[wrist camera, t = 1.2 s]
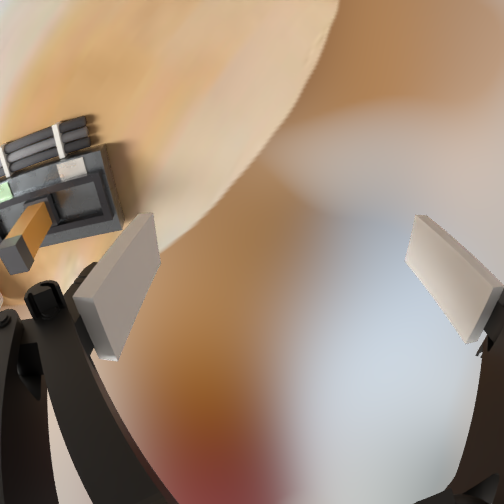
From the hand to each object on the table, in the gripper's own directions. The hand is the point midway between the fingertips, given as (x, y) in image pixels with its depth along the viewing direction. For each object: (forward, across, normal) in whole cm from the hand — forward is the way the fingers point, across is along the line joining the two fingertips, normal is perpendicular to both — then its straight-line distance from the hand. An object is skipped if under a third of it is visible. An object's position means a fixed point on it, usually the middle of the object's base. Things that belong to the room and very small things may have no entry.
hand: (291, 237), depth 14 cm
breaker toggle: (+20, -31, -5) cm, 37 cm away
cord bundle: (+21, -32, +4) cm, 39 cm away
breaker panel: (+23, -31, -4) cm, 39 cm away
